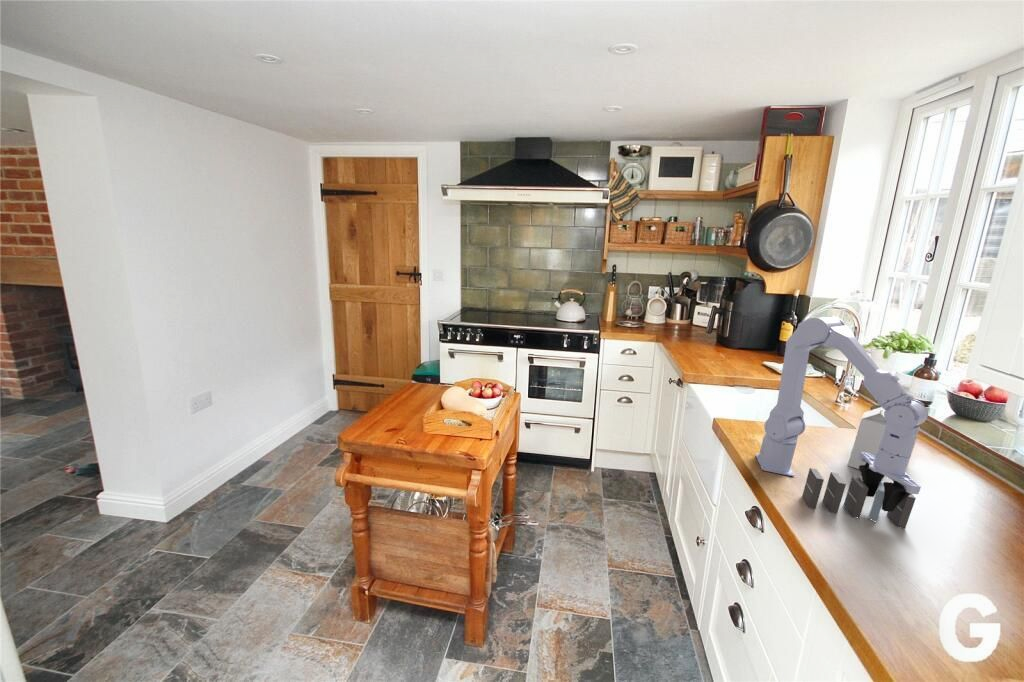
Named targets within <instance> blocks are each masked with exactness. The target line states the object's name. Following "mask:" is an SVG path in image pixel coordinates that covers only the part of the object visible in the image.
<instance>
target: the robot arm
mask: <svg viewBox="0 0 1024 682" xmlns="http://www.w3.org/2000/svg"><path fill="white" fill-rule="evenodd" d="M820 345H822V346H823V347H827V348H830V349H834V350H837V351H840V352H841V353H842V355H844V357H846V359H847V360H848V361H849V362H850V364H851V365H853V366H854V367H855V369H856V370H857V371H858V372H859V373H860V374H861V375H862V376H863V387H864V388H865V389H866V390H867V391H868V392H869V393H870V395H871V396H872V397H873V398H874V399H875V401H876V402H877V404H878V405H880V406H881V407H882V408H883V409H884V410H886V411H884V417H885V420H886V421H887V423H886V426H885V428H884V431H883V434H882V437H881V440H880V444H879V447H878V450H877V453H876V456H873V455H871V454H870V453H863V452H861V453H860V457H859V460H861V461H863V462H866V464H865V465H860V466H859V469H858V470H859V472H860V475H861V480H862V481H863V482H864V484H865V485H866V486H867V487H868V488H869V489H868V493H867V496H866V498H868V497H870V498H873V497H874V498H875V495H876V492H877V489H878V486H879V483H880V482H882V480H883V479H884V478H885V477H887V478H888V479H890V480H891V481H893V482H889V481H883V482H882V483H883V484H884V500H883V503H882V507H881V510H882V511H884V512H888V511H890V512H893V511H894V509H895V508H896V507H897V506H898V504H899V503H900V502H901V501H902V500H903V499H905V498H906V497H908V496H909V495H911V494H912V495H919V493H920V491H921V488H922V486H921V485H919V484H918V483H917V482H916V481H915V480H914V479H913V478H912V477H910V476H909V474H908V473H907V469H908V465H909V462H910V460H911V458H912V454H913V451H914V448H915V445H916V442H917V440H918V439H917V438H918V434H919V431H920V428H921V426H920V425H922V424H923V423H925V422H926V421H927V419H928V417H929V412H928V409H927V408H926V406H925V403H923V402H922V401H920V400H918V399H916V398H915V396H914V395H913V394H911V395H910V394H909V393H908V391H906V389H905V388H904V387H903V385H901V384H900V382H899V381H900V378H899V376H898V375H897V374H894V375H893V374H892V373H891V372H890V371H886V370H882V369H880V368H879V367H878V366H877V364H876V363H875V362H874V360H873V359H872V358H871V356H870V355H869V353H868V352H867V351H866V349H865V348H864V347H863V346H862V345H861V343H860V341H858V339H857V338H856V336H855V335H854V333H853V331H852V329H851V328H850V327H849V326H847V325H846V324H845V321H843V320H842V318H839V317H837V316H831V315H829V316H827V317H826V316H823V317H811V318H807V319H806V320H804V321H801V322H799V323H798V324H797V328H796V329H795V330H794V331H793V333H792V334H791V335H790V337H788V339H787V340H786V345H785V350H784V351H785V352H784V355H783V356H784V358H783V363H782V369H781V375H780V377H781V378H780V383H779V390H778V396H777V402H776V404H775V406H774V407H773V408H772V409H771V410H770V412H769V416H768V418H767V420H766V421H765V422H764V428H763V429H764V432H765V434H764V436H763V438H762V441H761V446H760V451H759V453H755V458H756V459H757V462H758V464H759V466H760V468H761V470H762V471H765V472H769V473H775V474H779V475H784V476H790V477H795V476H796V475H795V473H794V471H793V470H792V462H793V460H794V459H793V458H794V456H795V451H796V447H797V444H798V438H799V436H800V435H802V434H804V432H805V430H806V422H805V420H804V419H805V418H804V414H805V412H804V410H803V409H802V407H801V405H802V398H803V394H804V393H803V392H804V387H805V381H806V380H805V379H806V375H807V368H808V361H809V357H810V356H809V355H810V352H811V351H812V350H813V349H815V348H817V347H818V346H820Z"/></svg>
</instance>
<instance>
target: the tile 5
mask: <svg viewBox="0 0 1024 682" xmlns="http://www.w3.org/2000/svg"><path fill="white" fill-rule="evenodd" d="M915 502H916V497H915V495H914V494H911V495H909V496H908V497H906V498H905V499H903V500H902V501H901V502H900V503H899V504H898V506H897V507H896V508H895V509H894V511H893V512H890V511H886V512H887V513H886V515H887V514H888V515H889V516H890V517H889V516H888V515H887V516H888V517H889V518H891V519H892V520H893V521H892V520H891V519H890V520H891V521H892V522H893V523H894V524H896V525H897V526H896V525H895V526H896V527H897V528H900V527H901V529H906V527H907V525H908V521H909V518H910V517H911V513H912V510H913V507H914V505H915Z"/></svg>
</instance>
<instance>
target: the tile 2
mask: <svg viewBox="0 0 1024 682" xmlns="http://www.w3.org/2000/svg"><path fill="white" fill-rule="evenodd" d="M846 486H847V484H846V482H845V481H844V479H843V477H841V476H840V474H839V473H837V472H830V473H829V478H828V481H827V485H826V488H825V491H824V495H823V499H822V502H823V503H824V506H826V508H827V510H828V511H829V513H833V514H836V515H837V514H838V512H839V510H840V509H839V508H840V505H841V503H842V502H841V501H842V499H843V496H844V493H845V490H846Z"/></svg>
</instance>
